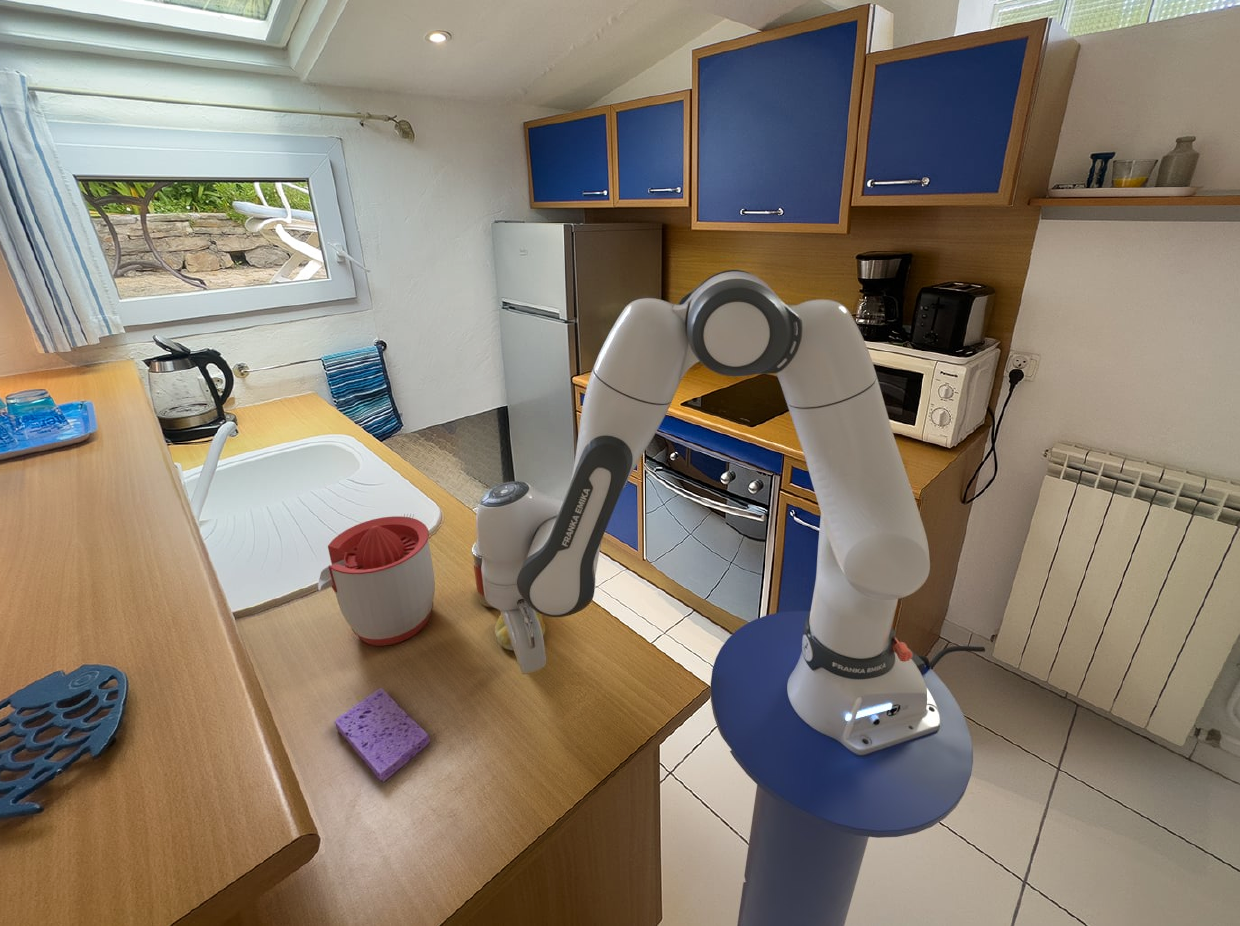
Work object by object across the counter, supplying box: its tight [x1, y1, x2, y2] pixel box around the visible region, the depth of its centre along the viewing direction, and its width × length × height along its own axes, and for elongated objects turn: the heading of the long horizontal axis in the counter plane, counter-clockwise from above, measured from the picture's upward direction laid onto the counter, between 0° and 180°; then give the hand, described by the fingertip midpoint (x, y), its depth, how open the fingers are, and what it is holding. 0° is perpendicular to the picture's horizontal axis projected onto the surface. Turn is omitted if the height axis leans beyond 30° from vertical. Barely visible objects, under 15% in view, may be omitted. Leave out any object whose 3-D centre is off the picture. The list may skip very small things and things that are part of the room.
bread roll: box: [494, 611, 546, 652], centre depth 92 cm, size 8×9×4 cm
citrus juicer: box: [317, 515, 436, 646], centre depth 91 cm, size 16×17×20 cm
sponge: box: [333, 687, 431, 783], centre depth 75 cm, size 7×13×2 cm, turn 53°
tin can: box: [471, 540, 495, 609], centre depth 100 cm, size 8×8×11 cm
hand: (520, 650), depth 87 cm, fingers closed
